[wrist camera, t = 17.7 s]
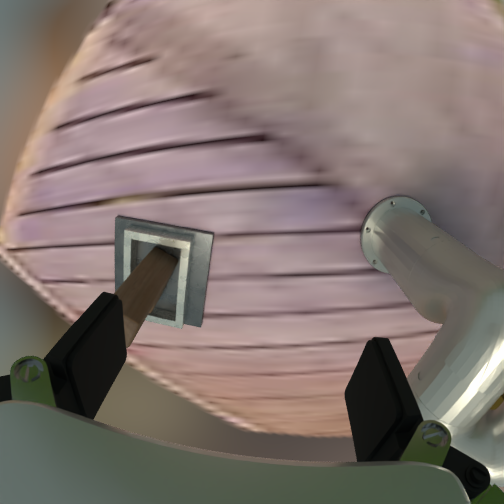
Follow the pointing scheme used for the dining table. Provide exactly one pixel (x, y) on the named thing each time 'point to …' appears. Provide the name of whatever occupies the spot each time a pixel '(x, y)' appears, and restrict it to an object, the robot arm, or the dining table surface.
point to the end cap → (184, 275)
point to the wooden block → (144, 289)
